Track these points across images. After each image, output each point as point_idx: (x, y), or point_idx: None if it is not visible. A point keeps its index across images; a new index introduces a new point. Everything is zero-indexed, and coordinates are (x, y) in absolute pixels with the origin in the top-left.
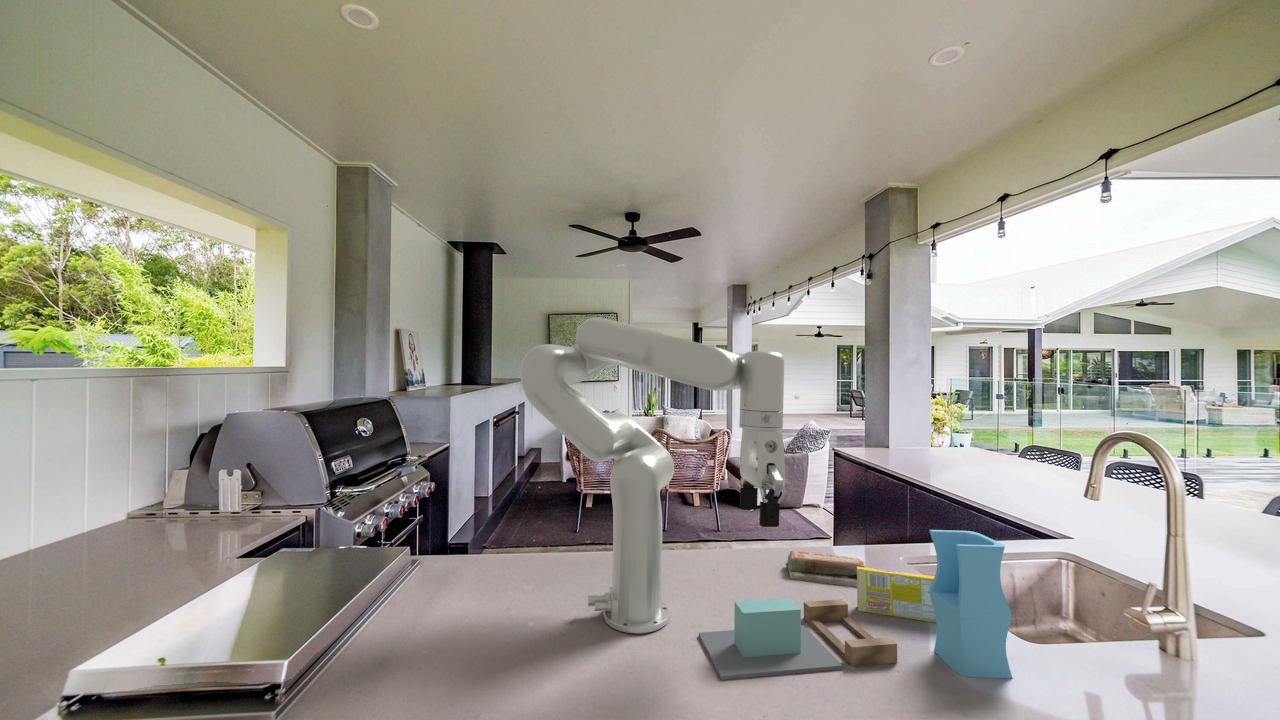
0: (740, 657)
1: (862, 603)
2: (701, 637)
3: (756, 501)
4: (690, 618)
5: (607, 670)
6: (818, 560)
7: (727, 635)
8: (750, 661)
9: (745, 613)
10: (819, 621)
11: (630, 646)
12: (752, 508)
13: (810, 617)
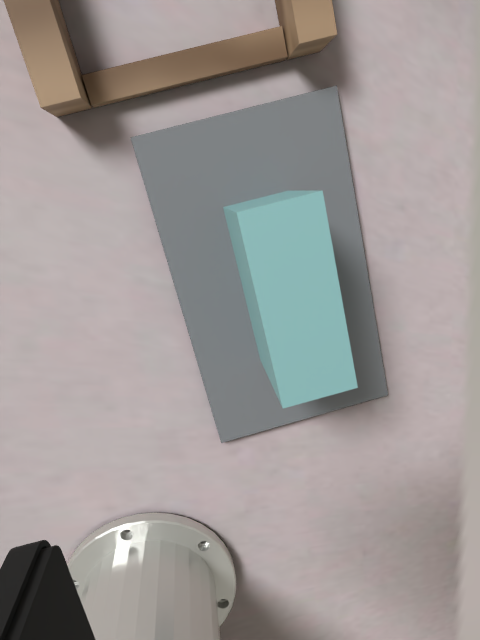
0: None
1: None
2: (242, 436)
3: (33, 617)
4: (133, 460)
5: (361, 589)
6: None
7: (226, 374)
8: None
9: (356, 380)
10: (101, 71)
11: (279, 569)
12: (67, 584)
13: (86, 99)
